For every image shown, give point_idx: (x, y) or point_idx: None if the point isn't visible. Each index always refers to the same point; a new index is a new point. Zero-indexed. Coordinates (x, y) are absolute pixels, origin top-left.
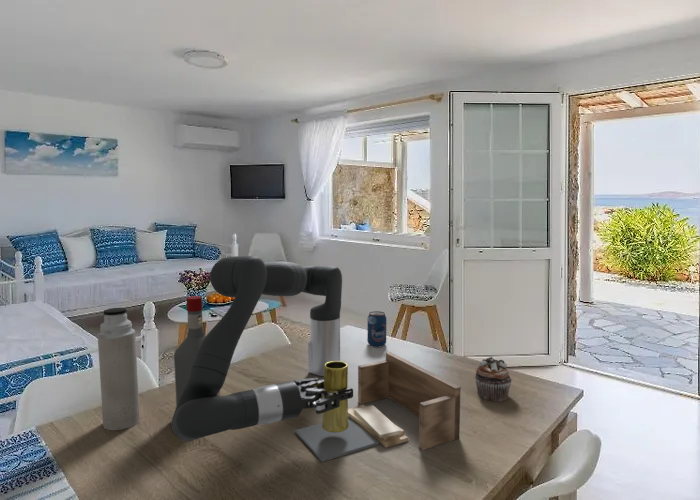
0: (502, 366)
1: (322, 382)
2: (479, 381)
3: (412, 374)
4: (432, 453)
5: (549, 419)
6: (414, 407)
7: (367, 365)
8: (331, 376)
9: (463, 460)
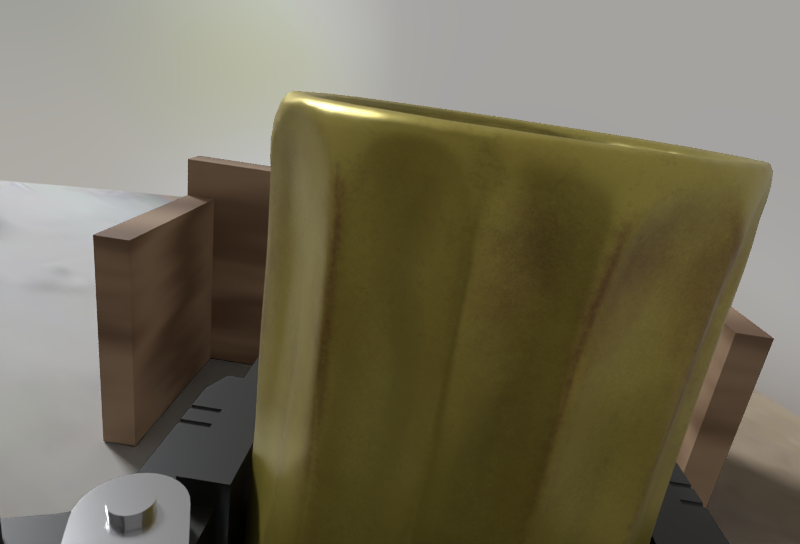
0: None
1: (188, 533)
2: None
3: None
4: (728, 528)
5: None
6: None
7: (146, 225)
8: (691, 360)
9: (791, 489)
